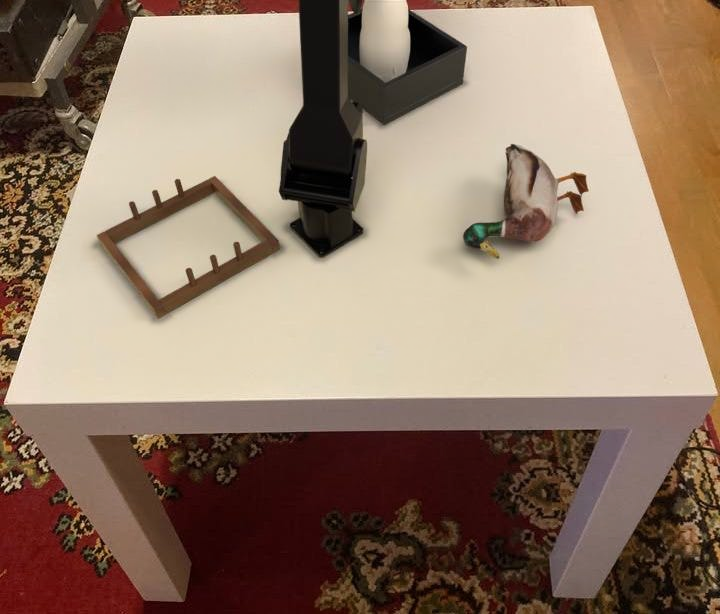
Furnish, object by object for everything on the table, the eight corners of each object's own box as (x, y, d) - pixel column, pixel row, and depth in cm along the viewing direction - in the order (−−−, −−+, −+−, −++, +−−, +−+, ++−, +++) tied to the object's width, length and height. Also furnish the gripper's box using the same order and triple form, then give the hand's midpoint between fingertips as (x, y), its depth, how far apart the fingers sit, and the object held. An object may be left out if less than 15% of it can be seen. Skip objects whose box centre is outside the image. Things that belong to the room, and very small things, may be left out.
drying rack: (280, 249, 83) (276, 225, 80) (158, 318, 77) (149, 296, 74) (217, 184, 90) (211, 160, 87) (100, 244, 84) (89, 220, 81)
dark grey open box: (462, 84, 102) (467, 46, 97) (384, 125, 97) (384, 87, 92) (388, 33, 110) (389, -4, 105) (311, 69, 105) (308, 31, 100)
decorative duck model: (479, 243, 75) (424, 150, 83) (476, 284, 81) (425, 194, 89) (608, 199, 77) (542, 111, 85) (595, 242, 83) (535, 157, 91)
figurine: (410, 57, 104) (414, -23, 95) (407, 89, 100) (410, 8, 90) (361, 55, 105) (361, -25, 95) (356, 86, 100) (354, 6, 91)
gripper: (402, -173, 88) (398, -46, 100) (277, -132, 81) (289, -1, 94) (465, -145, 83) (452, -14, 95) (336, -98, 76) (341, 36, 88)
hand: (383, 0), depth 93 cm, fingers open, 9 cm apart
